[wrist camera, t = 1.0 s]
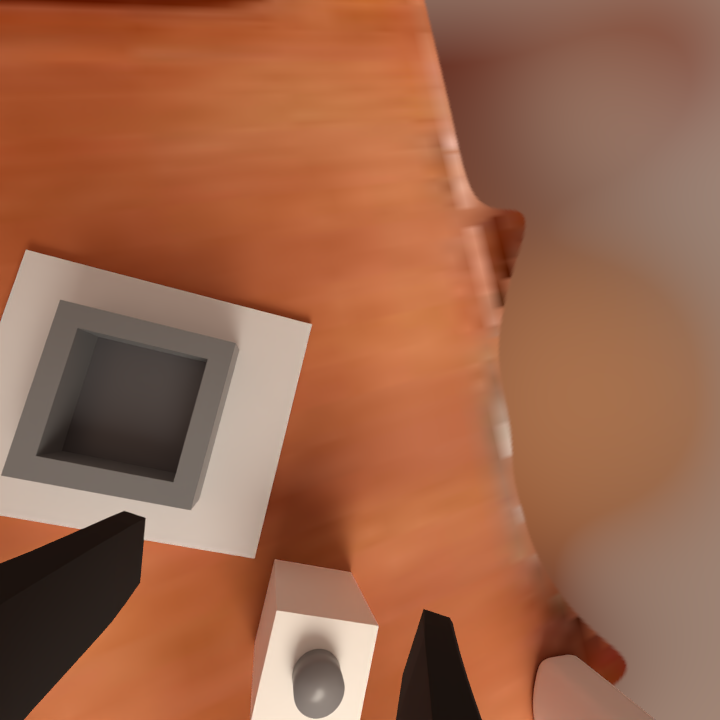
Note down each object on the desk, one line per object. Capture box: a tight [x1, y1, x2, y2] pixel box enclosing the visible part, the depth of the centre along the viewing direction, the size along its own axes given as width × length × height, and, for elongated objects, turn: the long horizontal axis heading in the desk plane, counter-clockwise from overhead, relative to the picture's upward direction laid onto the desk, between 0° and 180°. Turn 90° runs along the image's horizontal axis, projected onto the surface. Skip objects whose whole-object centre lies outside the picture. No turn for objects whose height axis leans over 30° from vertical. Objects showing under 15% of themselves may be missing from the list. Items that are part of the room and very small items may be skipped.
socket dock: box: [0, 250, 312, 559], centre depth 21 cm, size 12×14×3 cm
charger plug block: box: [250, 559, 379, 720], centre depth 19 cm, size 4×4×7 cm
